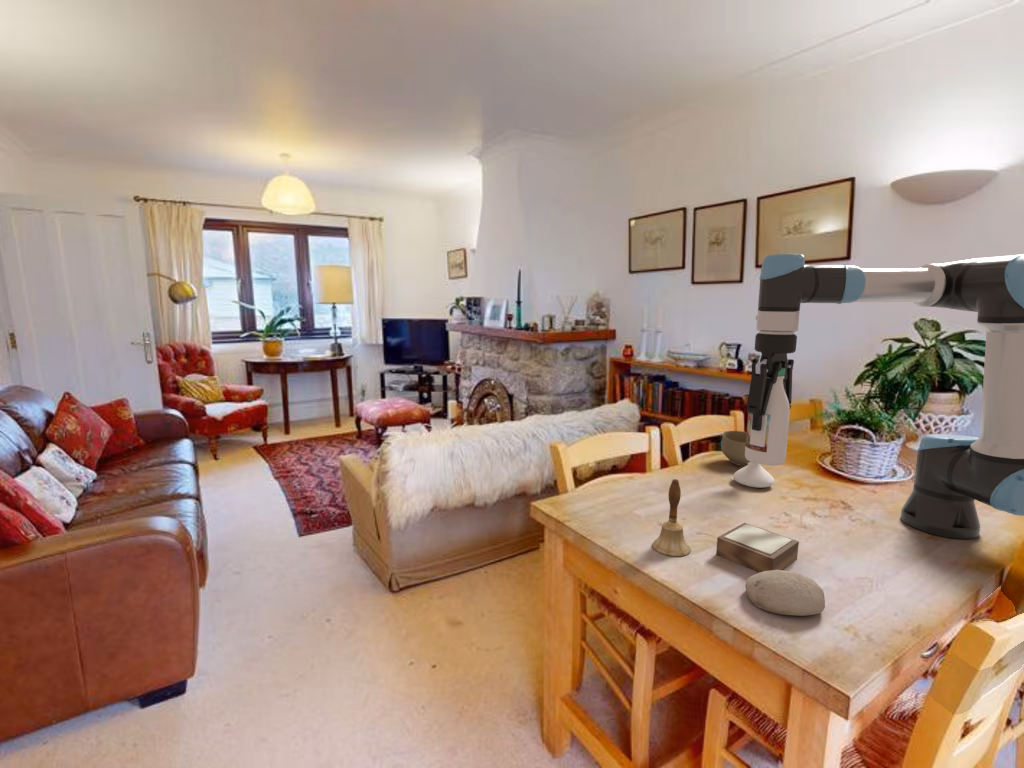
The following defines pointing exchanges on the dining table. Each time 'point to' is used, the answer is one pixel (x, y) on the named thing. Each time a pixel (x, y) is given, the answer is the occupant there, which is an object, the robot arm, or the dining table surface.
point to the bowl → (734, 446)
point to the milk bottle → (772, 428)
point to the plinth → (757, 548)
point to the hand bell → (672, 528)
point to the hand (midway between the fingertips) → (766, 441)
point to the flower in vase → (754, 476)
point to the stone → (785, 593)
